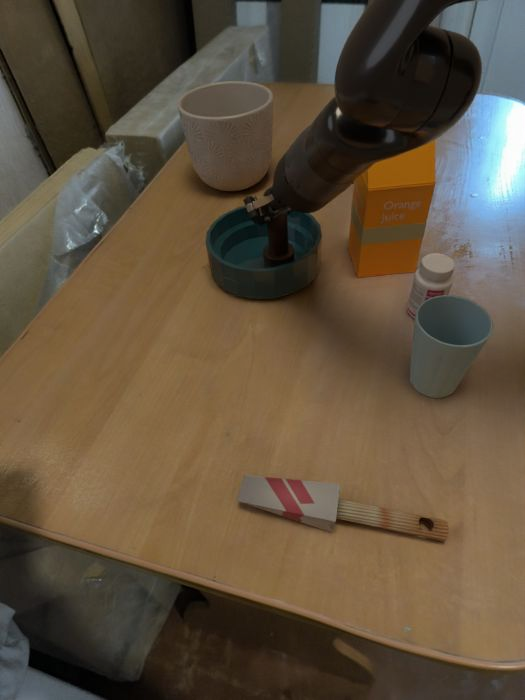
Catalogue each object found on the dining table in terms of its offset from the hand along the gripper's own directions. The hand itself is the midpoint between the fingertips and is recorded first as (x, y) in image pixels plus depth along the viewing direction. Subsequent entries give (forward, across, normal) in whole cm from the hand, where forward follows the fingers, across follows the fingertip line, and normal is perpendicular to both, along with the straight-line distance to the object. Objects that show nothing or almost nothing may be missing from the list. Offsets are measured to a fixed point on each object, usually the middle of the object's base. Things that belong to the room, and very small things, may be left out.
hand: (270, 215), depth 67 cm
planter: (+25, -6, -13) cm, 29 cm away
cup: (-16, -5, +28) cm, 33 cm away
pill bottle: (-9, -12, +21) cm, 26 cm away
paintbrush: (-21, +15, +34) cm, 43 cm away
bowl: (+6, +2, +6) cm, 8 cm away
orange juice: (0, -14, +12) cm, 19 cm away
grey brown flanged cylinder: (+4, 0, +6) cm, 7 cm away
